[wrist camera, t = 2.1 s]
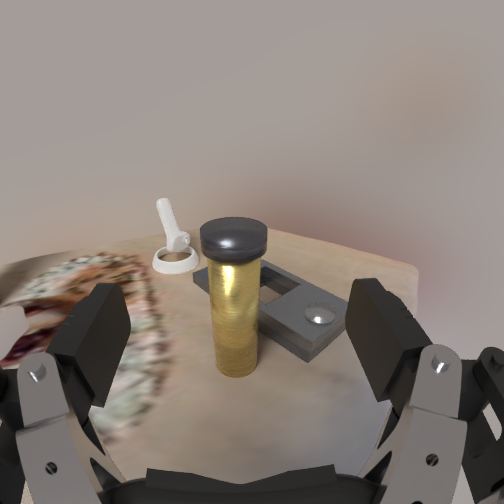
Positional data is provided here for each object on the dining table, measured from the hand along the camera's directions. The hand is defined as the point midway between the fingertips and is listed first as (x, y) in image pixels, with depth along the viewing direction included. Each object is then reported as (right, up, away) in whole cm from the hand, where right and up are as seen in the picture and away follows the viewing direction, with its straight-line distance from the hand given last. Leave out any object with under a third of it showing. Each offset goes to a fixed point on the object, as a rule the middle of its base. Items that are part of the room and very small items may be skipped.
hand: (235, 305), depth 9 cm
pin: (-1, -9, +17) cm, 20 cm away
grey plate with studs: (+2, -5, +26) cm, 27 cm away
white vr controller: (-12, 0, +35) cm, 37 cm away
